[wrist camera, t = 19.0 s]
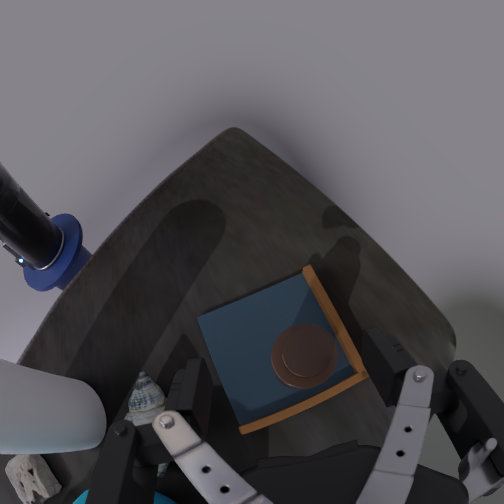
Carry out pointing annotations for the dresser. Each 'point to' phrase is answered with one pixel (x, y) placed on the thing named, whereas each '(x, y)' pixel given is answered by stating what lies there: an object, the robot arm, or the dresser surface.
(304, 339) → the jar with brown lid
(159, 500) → the decorative orb
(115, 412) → the dresser surface
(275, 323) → the corner mat
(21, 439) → the tall pillar cylinder
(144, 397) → the seashell
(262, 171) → the dresser surface
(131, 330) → the dresser surface
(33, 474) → the stone
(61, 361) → the dresser surface
